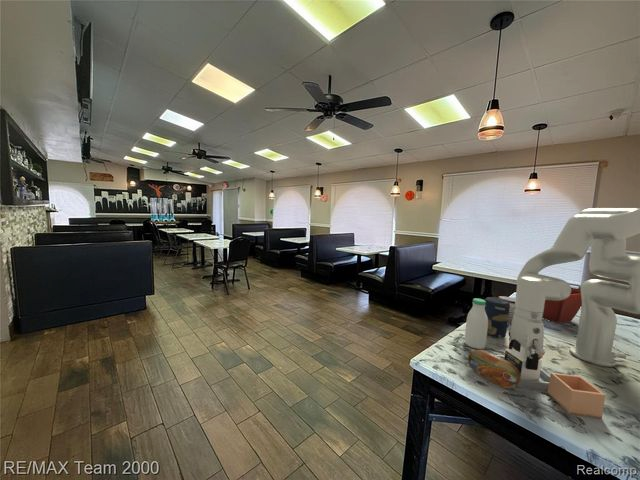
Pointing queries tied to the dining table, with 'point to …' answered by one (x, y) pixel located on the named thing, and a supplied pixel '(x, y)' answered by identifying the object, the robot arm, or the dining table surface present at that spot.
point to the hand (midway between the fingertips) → (521, 360)
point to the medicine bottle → (522, 361)
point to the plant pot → (563, 308)
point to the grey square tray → (534, 384)
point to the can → (511, 309)
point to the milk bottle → (477, 325)
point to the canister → (497, 316)
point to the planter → (576, 395)
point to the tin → (494, 369)
